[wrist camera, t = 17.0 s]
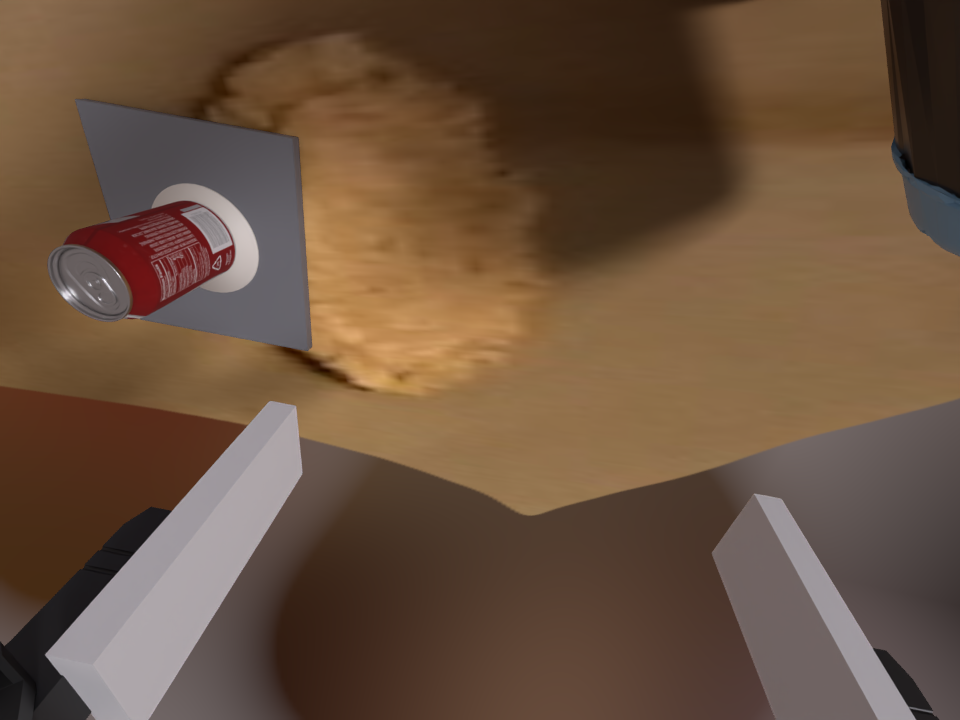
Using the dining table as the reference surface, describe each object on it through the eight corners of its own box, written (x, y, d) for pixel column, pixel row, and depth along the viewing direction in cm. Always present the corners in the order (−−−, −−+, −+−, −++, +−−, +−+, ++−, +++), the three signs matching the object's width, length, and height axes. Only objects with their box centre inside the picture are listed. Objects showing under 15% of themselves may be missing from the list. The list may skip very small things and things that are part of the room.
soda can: (214, 189, 37) (93, 224, 27) (254, 264, 40) (158, 320, 30) (152, 208, 39) (15, 248, 29) (195, 279, 42) (85, 337, 32)
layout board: (85, 99, 36) (72, 99, 35) (298, 137, 35) (291, 138, 34) (147, 315, 46) (138, 320, 45) (312, 346, 46) (306, 351, 45)
